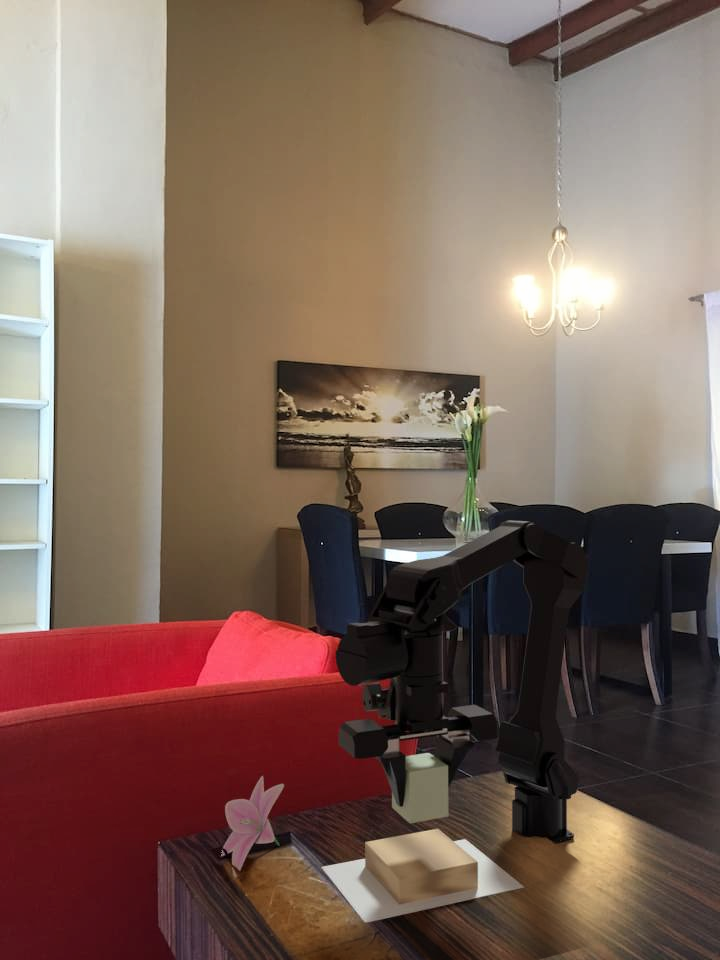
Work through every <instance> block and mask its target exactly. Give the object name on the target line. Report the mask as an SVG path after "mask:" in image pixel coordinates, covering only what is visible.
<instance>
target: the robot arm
mask: <svg viewBox="0 0 720 960" xmlns="http://www.w3.org/2000/svg"><path fill="white" fill-rule="evenodd" d="M512 561H513V562H514V563H516V565H518V566H520V567H522V568H523V579H522V580H523V584H524V587H525V591H526V592H527V596H528V598H529V600H530V603H531V604H530V606H531V607H530V615H529V624H528V630H527V639H526V646H525V653H524V660H523V669H522V675H521V676H522V677H521V684H520V692H519V699H518V707H517V710H516V712H515V713H514V714H513V716H512V717H511V718H510V720H509V721H508V722H507V721H501V723H500V724H499V721H498V719H497V717H496V716H495V715H494V714H493V713H492V712H490V711H488V710H486V709H485V708H483V707H480V706H479V705H476V704H470V705H462V706H456V707H451V708H450V709H449V711H448V713H447V716H445V715H444V693H449V683H448V682H446V681H444V640H443V639H444V633H447V632H453V631H456V630H457V624H455V623H454V622H453V621H452V620H451V619H450V618H448V616H447V615H446V612H447V611H448V610H449V609H450V608H451V607H453V606H454V605H455V604H456V603H458V601H459V600H460V599H461V597H462V596H461V595H462V594H463V591H464V590H465V589H466V588H467V587H468V586H469V585H472V584H473V583H475V582H477V581H478V580H480V579H482V578H484V577H485V576H487V575H489V574H491V573H493V572H494V571H496V570H498V569H500V568H503V566H506V565H507V564H509V563H510V562H512ZM589 567H590V559H589V555H588V554H586V552H585V550H584V548H583V547H582V545H580V544H579V543H578V542H571V541H569V540H567V539H565V538H562V537H561V536H558V535H556V534H553V533H551V532H549V531H547V530H545V529H544V528H542V527H541V526H539V525H538V524H535V523H534V522H533V521H525V520H524V521H523V520H506V521H504V522H501V523H500V524H499V525H498V527H496V528H494V529H492V530H489V531H488V532H485V533H484V534H482V535H481V536H479V537H476V538H475V539H473V540H470V541H468V542H467V543H465V544H462V545H461V546H459V547H457V548H455V549H453V550H451V551H449V552H448V553H446V554H443V555H440V556H437V557H430V558H424V559H423V558H422V559H416V560H413V561H410V562H405V563H401V564H398V565H396V566H395V567H393V568H392V569H391V570H390V571H389V572H388V578H387V580H386V584H385V586H384V587H383V589H382V591H381V593H380V595H379V596H378V598H377V601H376V603H375V604H374V606H373V608H372V610H371V612H370V613H369V615H368V617H367V622H363V623H362V622H351V623H347V625H346V634H345V635H343V636H342V637H341V639H340V640H339V643H338V644H337V650H335V663H336V667H337V670H338V673H339V675H340V676H341V679H343V681H344V682H345V683H346V684H348V685H349V686H352V687H356V686H361V685H362V703H363V709H364V711H365V712H373V711H374V712H375V711H377V717H378V718H379V719H382V718H383V719H384V718H386V719H387V720H388V721H390V722H395V723H394V724H391V725H390V724H389V725H380V724H378V723H377V722H376V721H374V720H373V719H371V718H363V719H357V720H355V719H354V720H349V721H343V722H342V724H341V726H340V727H339V729H338V733H337V735H338V736H337V737H338V746H340V747H341V748H342V749H343V750H344V751H345V752H346V753H348V754H349V755H350V756H352V757H353V758H354V759H358V760H359V759H360V760H362V759H363V760H364V759H371V758H375V759H376V760H378V761H379V762H380V764H381V767H382V768H383V770H384V774H385V775H386V779H387V781H388V783H389V786H390V787H389V788H390V789H391V794H392V793H393V795H394V798H395V801H396V804H397V805H398V806H399V807H402V806H403V803H404V797H405V764H406V756H407V755H406V754H404V753H402V751H400V742H403V741H410V740H417V739H424V738H430V737H433V738H432V739H433V742H434V745H435V750H436V756H435V757H436V758H437V759H439V760H440V761H442V762H443V763H445V764H446V765H448V789H449V788H450V786H451V784H452V782H453V779H454V778H455V775H456V773H457V771H458V770H459V767H460V766H461V764H462V762H463V761H464V759H465V758H466V756H467V755H468V752H469V751H470V750H474V749H475V748H476V743H475V742H473V741H471V740H470V736H471V737H472V738H473V739H474V740H475V741H477V742H483V741H491V740H496V739H498V741H497V744H496V747H495V752H496V753H497V761H498V765H499V767H501V770H502V774H503V778H504V781H505V783H506V784H509V785H513V786H515V787H514V799H512V801H511V829H512V831H514V832H515V833H517V834H518V835H519V836H521V837H522V838H523V837H524V838H526V837H527V838H532V837H536V838H542V839H544V838H546V839H547V840H548V841H550V842H551V843H554V844H555V843H558V842H562V841H567V840H572V839H574V838H575V834H574V832H572V831H570V830H568V829H567V828H568V822H567V821H568V816H567V815H568V813H567V812H568V809H567V808H568V807H567V806H568V805H567V802H568V800H570V799H572V796H573V795H575V794H577V792H578V787H579V782H580V776H579V774H577V773H576V771H575V770H574V769H573V768H572V767H571V766H570V764H568V762H567V761H566V759H565V738H564V736H563V733H562V730H561V728H560V725H559V723H558V720H557V708H558V707H557V706H558V700H559V691H560V683H561V675H562V668H563V660H564V651H565V645H566V636H567V630H568V629H567V628H568V622H569V621H568V620H569V612H570V609H571V607H573V605H574V604H575V603H576V601H577V600H578V599H579V597H580V596H581V595H582V593H583V592H584V589H585V585H586V581H587V576H588V572H589ZM395 611H396V612H395ZM386 680H389V688H386V689H383V687H382V684H381V683H380V682H382V681H386Z"/></svg>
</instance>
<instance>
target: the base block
mask: <svg viewBox="0 0 720 960" xmlns="http://www.w3.org/2000/svg"><path fill="white" fill-rule="evenodd" d="M453 841H454V840H452V839H451V838H450V837H449V836H447V834H445V833H444V832H443V831H441V830H440V828H434V829H429V830H424V831H417V832H413V833H407V834H403V835H401V834H400V835H397V836H396V835H395V836H391V837H386V838H381V839H375V840H370V841H365V842H364V856H365V857H364V859H365V867H366V868H367V869H368V870H369V871H370V872H371V873H372V875H373V876H374V877H375V878H376V879H377V880H378V881H379V882H380V883H381V885H382V886H383V887H384V888H385V889H386V890H387V891H388V892H389V893H390V895H391V896H392V897H393V898H394V899H395V900H396V901H397V902H398V903H399V905H400V904H405V903H409V902H414V901H419V900H423V899H428V898H432V897H437V896H441V895H446V894H451V893H455V892H460V891H464V890H469V889H473V888H478V862H477V861H476V860H475V859H474V858H473V857H471V856H470V855H469V854H468V853H467V852H465V851H464V850H463V849H462V848H461V847H459V846H458V845H457V844H456V843H455V842H453Z"/></svg>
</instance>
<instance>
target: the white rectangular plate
mask: <svg viewBox="0 0 720 960" xmlns="http://www.w3.org/2000/svg"><path fill="white" fill-rule="evenodd" d="M452 841H453V842H455V843H456V844H457V845H458V846H459V847H461V848H462V849H463V850H464V851H465V852H467V853H468V854H469V855H470V856H471V857H473V858H474V859H475V860H476V861H477V862H478V888H473V889H469V890H464V891H460V892H455V893H451V894H446V895H441V896H437V897H432V898H428V899H423V900H419V901H414V902H409V903H405V904H400V905H399V903H398V902H397V901H396V900H395V899H394V898H393V897H392V896H391V895H390V893H389V892H388V891H387V890H386V889H385V888H384V887H383V886H382V885H381V883H380V882H379V881H378V880H377V879H376V878H375V877H374V876H373V875H372V873H371V872H370V871H369V870H368V869H367V868H366V867H365V858H361V859H355V860H350V861H346V862H340V863H335V864H329V865H325V866H321V867H320V868H321V869H322V870H323V872H324V873H325V875H327V877H328V878H329V880H330V881H331V882H332V883H333V885H334V886H335V887H336V888H337V889H338V890H339V892H340V893H341V894H342V896H343V897H344V898H345V899H346V901H347V902H348V903H349V904H350V906H351V907H352V908H353V910H354V911H355V912H356V913H357V915H358V916H359V917H360V918H361V920H362V921H363V922H364V924H366V923H371V922H376V921H379V920H384V919H388V918H394V917H399V916H402V915H407V914H411V913H416V912H420V911H425V910H430V909H434V908H438V907H442V906H447V905H452V904H456V903H460V902H464V901H471V900H474V899H475V900H476V899H478V898H484V897H488V896H493V895H496V894H500V893H505V892H506V893H507V892H510V891H514V890H518V889H523V888H525V886H524V885H523V884H521V883H520V882H519V881H518V880H516V879H515V877H513V876H511V875H510V874H509V873H508V872H507V871H506V870H504V869H503V868H501V867H500V866H499V865H498V864H497V863H495V862H494V861H493V860H492V859H490V858H489V857H488V856H487V855H485V854H484V853H483V852H482V851H481V850H479V849H478V848H477V847H476V846H474V845H473V844H472V843H470V841H468V840H467V839H466V838H465V839H464V838H463V839H458V840H452Z"/></svg>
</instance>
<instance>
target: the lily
mask: <svg viewBox="0 0 720 960" xmlns="http://www.w3.org/2000/svg"><path fill="white" fill-rule="evenodd" d="M264 787H265V784H264V775H262V776H260V778H259V779H258V781H257V782H256V785H255V787H254V788H253V790H252V792H251V796H250V798H249V799H246V798H238V799H236V798H235V799H232V800H229V801H227V803H226V804H225V806H224V813H225V817H226V821H227V823H228V827H229V828H230V830H232V832H231V833H230V835H229V836H228V838H227V840H226V841H225V843H224V845H223V847H222V849H221V851H222V852H220V853H222V854H221V856H220V857H224V856H226V853H225V852H224V850H225V851H226V852H227V854H230V853H232V854H231V864H232V866H231V868H232V875H233V877H234V878H235V879H236V878H237V877H238V875H237V872H236V871H235V869H234V867H235V868H236V869H237V870H238V871H239V872H241V870H242V868H243V865H244V863H245V860H246V858H247V856H248V854H249V852H250V850H251V849H252V847H253V845H254V844H257V845H258V844H261V845H262V844H269V843H273V842H274V843H275V844H276V845H277V846H278V847H279V846H281V845H280V843H279V841H278V840H277V838H276V836H275V834H274V830H273V827H272V826H271V823H270V821H269V818H268V816H269V813H270V812H271V810H272V808H273V806H274V804H275V802H276V801H277V800H278V798H279V796H280V794H281V793H282V791H283V789H284V787H285V784H284V783H280V784H276V785H274V786H271V787H270V788H268V789H267V790H265V788H264ZM223 849H224V850H223ZM233 866H234V867H233Z"/></svg>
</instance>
